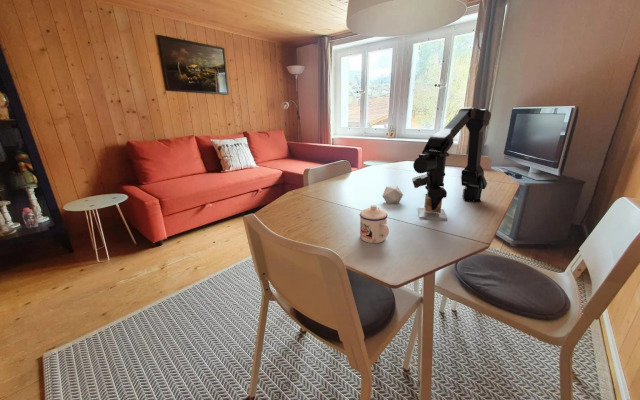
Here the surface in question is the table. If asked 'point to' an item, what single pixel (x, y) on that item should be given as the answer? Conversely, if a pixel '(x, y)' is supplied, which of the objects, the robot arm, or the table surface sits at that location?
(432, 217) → the coaster
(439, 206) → the walnut cube
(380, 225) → the teacup with lid
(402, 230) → the table surface
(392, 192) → the die
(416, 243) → the table surface
